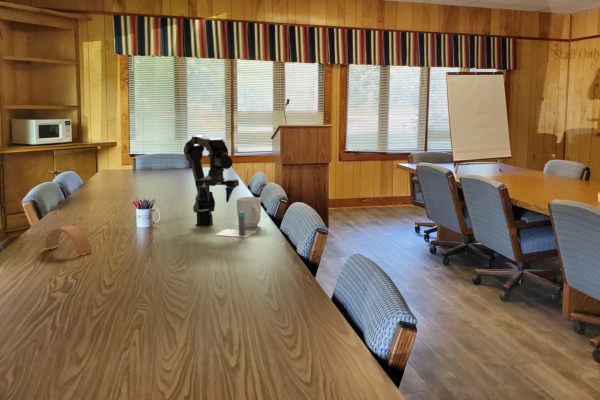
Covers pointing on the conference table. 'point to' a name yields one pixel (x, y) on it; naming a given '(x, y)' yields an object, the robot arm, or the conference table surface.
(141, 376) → the conference table surface
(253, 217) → the mug
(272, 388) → the conference table surface
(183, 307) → the conference table surface
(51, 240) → the arch
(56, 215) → the conference table surface
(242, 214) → the marker
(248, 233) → the paper
